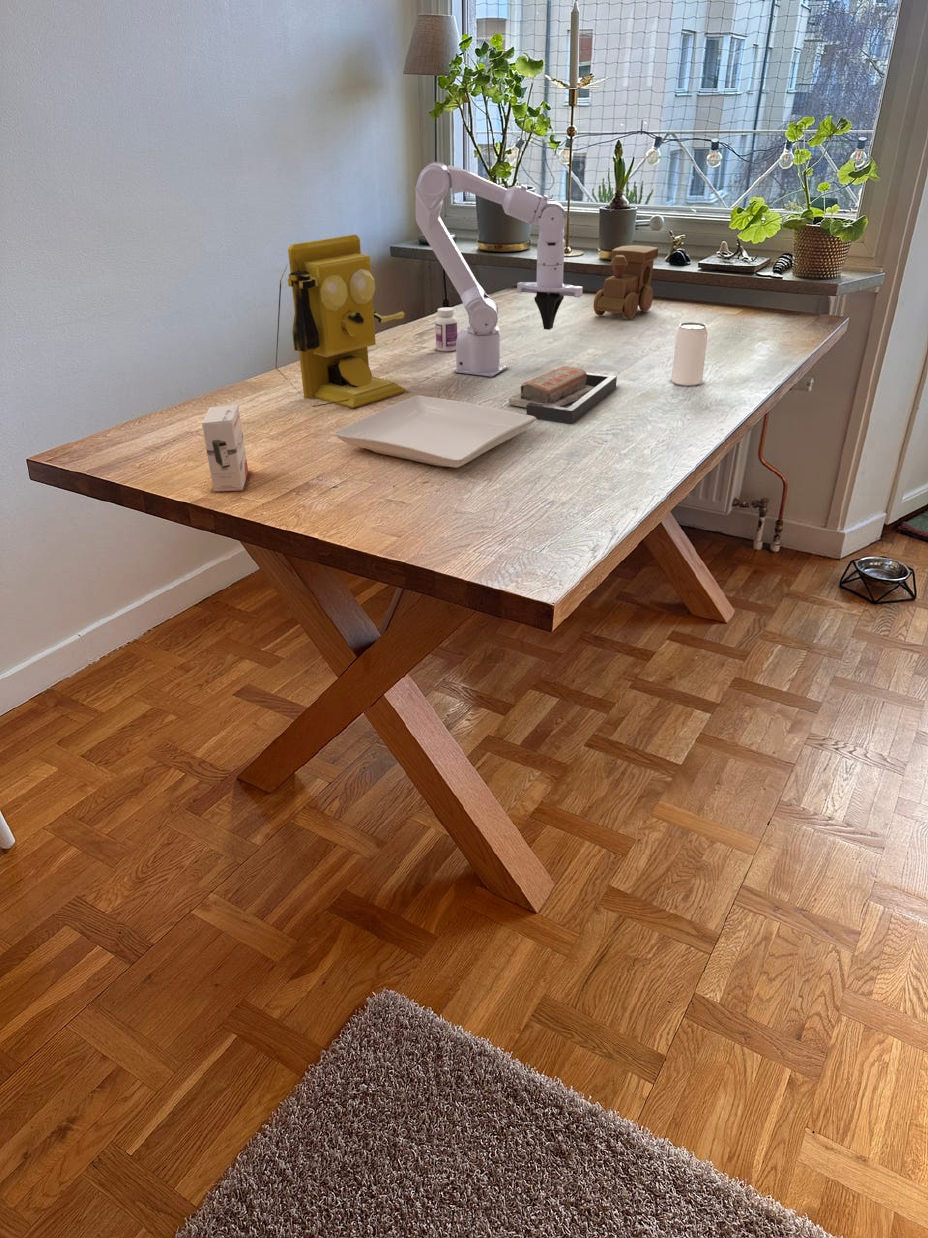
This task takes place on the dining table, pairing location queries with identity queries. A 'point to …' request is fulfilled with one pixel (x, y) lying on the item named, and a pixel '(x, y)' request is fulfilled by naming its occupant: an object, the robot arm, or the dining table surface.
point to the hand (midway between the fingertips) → (548, 328)
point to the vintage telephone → (335, 321)
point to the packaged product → (553, 388)
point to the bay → (576, 410)
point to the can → (689, 354)
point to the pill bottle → (446, 330)
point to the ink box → (225, 448)
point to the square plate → (434, 430)
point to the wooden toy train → (628, 282)
